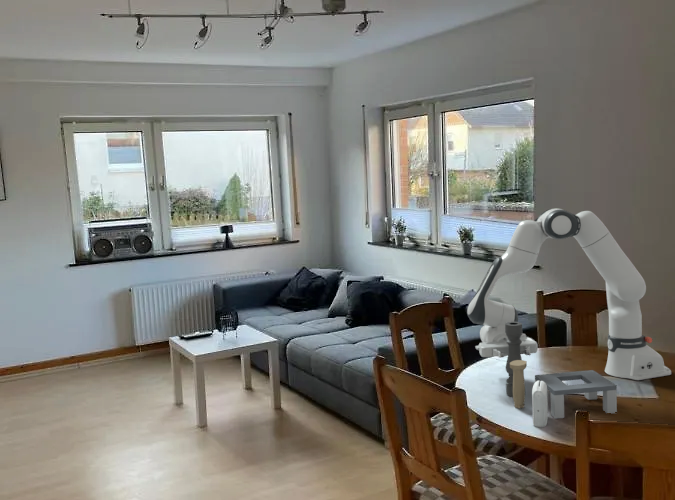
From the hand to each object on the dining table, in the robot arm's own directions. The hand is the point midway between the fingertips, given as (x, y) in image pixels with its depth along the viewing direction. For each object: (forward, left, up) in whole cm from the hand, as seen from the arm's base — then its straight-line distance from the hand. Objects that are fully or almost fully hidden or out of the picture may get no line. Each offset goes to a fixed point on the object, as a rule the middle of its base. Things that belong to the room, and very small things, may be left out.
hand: (515, 354), depth 229 cm
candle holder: (0, -1, -15) cm, 15 cm away
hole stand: (-14, +15, -15) cm, 25 cm away
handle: (+3, +11, -15) cm, 19 cm away
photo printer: (+1, +24, -15) cm, 28 cm away
